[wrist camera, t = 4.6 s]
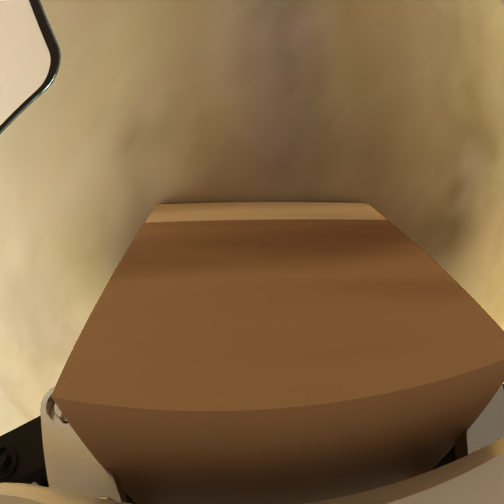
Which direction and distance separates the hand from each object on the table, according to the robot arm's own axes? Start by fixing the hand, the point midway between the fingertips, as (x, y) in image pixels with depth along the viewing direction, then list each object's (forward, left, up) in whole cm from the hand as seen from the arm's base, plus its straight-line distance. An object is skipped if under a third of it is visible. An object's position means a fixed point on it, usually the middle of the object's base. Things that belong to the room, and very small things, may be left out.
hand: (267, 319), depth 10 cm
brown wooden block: (0, 0, -1) cm, 1 cm away
